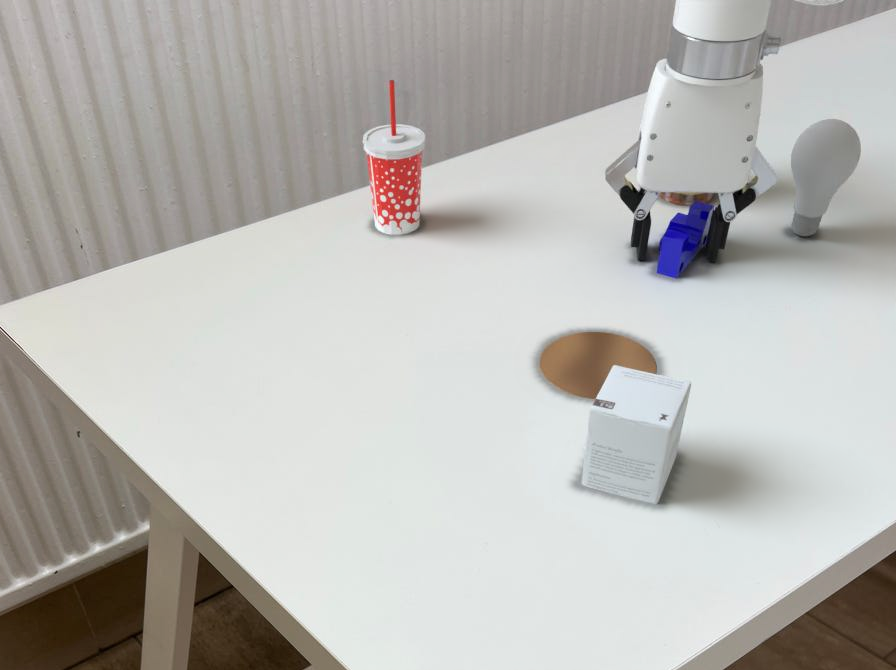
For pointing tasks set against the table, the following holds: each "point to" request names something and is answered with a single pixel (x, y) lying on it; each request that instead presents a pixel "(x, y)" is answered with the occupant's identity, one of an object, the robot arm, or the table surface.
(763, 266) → the table surface
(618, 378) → the white cardboard box
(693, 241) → the cable holder
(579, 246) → the table surface
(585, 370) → the cork coaster
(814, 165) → the lightbulb
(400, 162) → the beverage cup
